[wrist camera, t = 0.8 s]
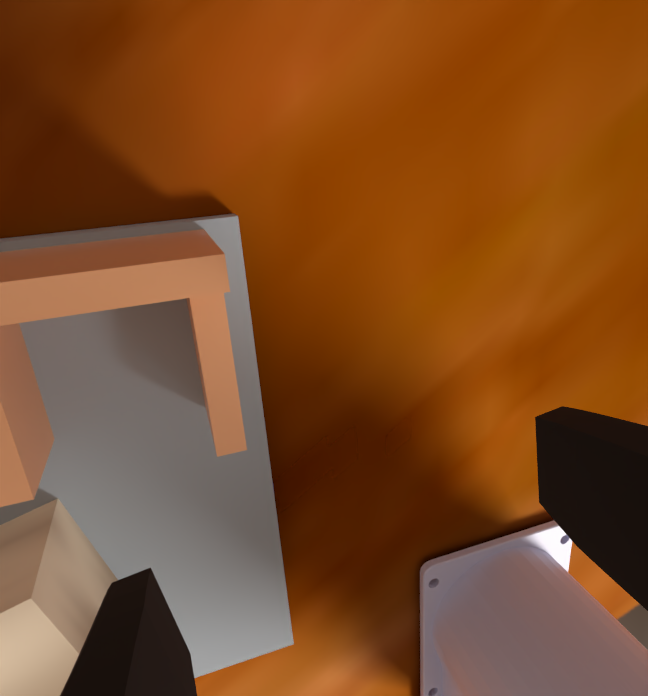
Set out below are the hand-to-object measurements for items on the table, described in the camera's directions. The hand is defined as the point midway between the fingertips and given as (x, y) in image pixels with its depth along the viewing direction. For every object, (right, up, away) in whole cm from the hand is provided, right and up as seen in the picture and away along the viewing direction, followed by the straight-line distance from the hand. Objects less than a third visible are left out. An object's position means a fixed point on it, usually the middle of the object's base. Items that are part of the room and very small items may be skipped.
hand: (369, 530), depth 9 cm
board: (-8, -2, +8) cm, 11 cm away
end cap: (-7, +3, +6) cm, 9 cm away
